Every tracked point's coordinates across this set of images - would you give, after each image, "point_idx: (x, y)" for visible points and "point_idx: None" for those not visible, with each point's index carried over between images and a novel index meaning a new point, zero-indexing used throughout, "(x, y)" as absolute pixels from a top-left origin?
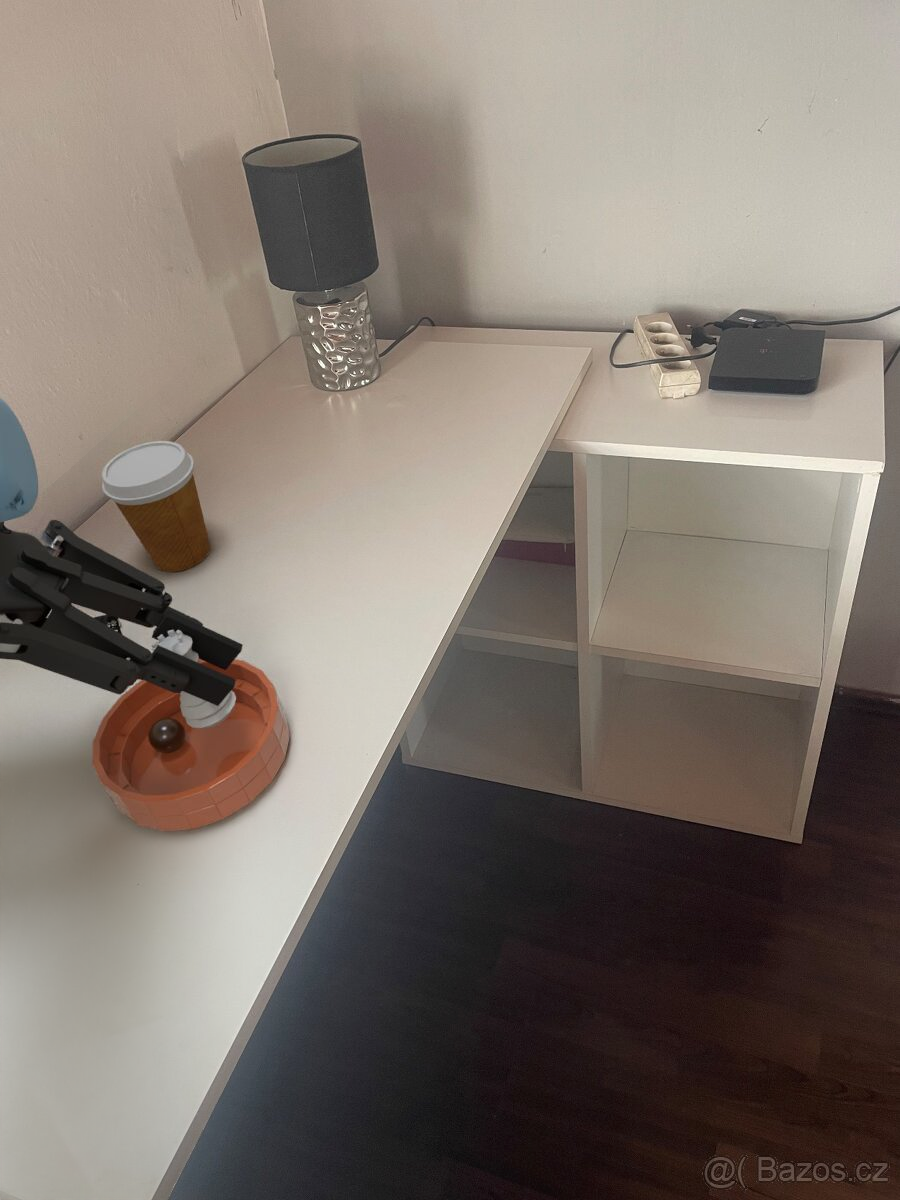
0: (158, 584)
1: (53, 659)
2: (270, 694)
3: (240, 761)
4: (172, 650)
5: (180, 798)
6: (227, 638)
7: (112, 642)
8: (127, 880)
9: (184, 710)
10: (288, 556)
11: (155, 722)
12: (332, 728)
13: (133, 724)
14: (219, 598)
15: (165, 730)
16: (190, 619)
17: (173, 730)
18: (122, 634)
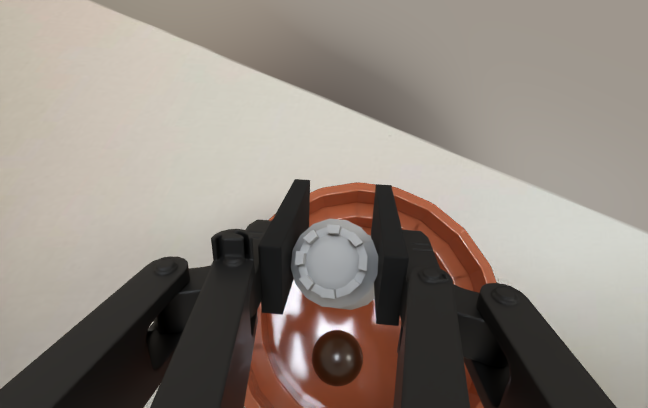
0: (166, 264)
1: None
2: (336, 191)
3: (447, 224)
4: (359, 249)
5: None
6: (291, 189)
7: (460, 343)
8: None
9: (368, 296)
10: (18, 215)
11: (329, 370)
12: (347, 166)
13: None
14: (51, 312)
15: (349, 350)
16: (251, 233)
17: (346, 340)
18: None
